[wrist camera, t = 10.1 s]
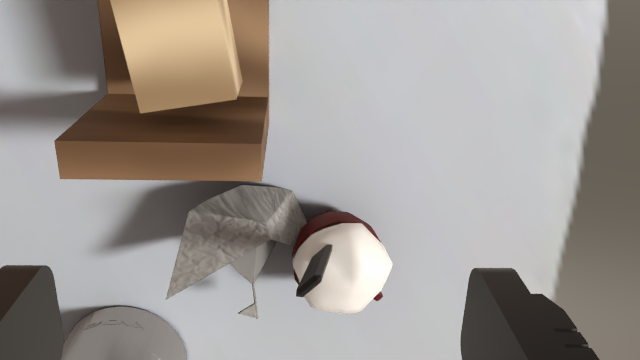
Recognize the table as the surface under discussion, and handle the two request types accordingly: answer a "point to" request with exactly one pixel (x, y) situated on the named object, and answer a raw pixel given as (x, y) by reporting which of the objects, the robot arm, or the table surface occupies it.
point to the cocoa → (339, 263)
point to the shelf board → (178, 52)
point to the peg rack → (175, 118)
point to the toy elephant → (236, 235)
